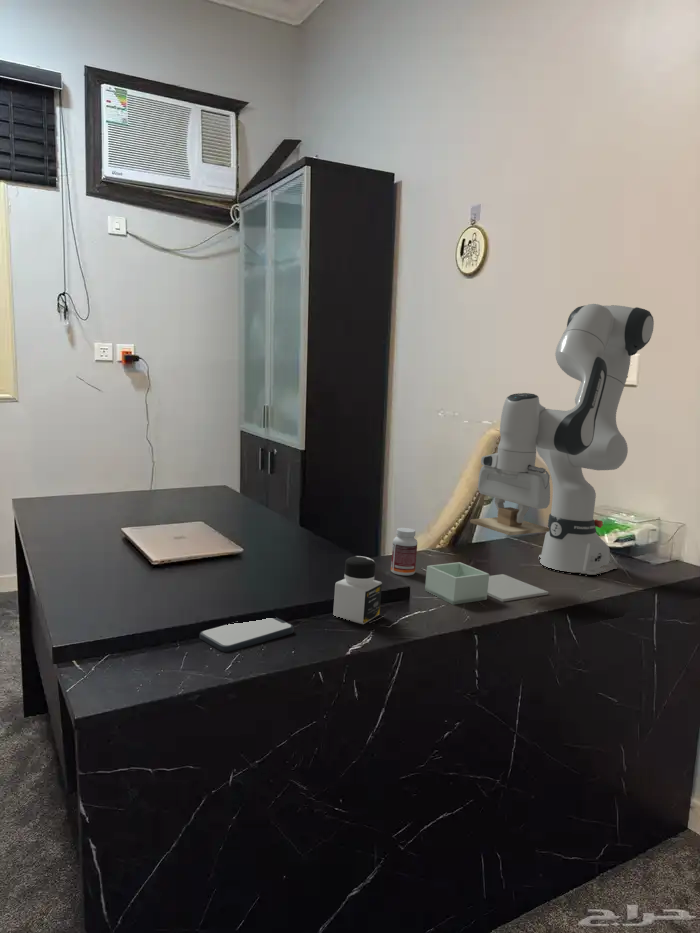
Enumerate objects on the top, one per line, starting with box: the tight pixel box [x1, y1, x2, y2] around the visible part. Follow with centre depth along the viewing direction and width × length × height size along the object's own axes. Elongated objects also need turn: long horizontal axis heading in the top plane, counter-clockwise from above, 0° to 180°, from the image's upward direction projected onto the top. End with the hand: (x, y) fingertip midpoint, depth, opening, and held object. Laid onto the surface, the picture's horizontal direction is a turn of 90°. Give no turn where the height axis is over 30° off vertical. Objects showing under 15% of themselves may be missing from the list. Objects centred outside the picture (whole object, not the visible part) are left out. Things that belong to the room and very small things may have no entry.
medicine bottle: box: [332, 555, 383, 625], centre depth 137 cm, size 7×7×12 cm
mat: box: [487, 573, 549, 603], centre depth 163 cm, size 15×15×1 cm
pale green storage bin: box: [424, 561, 490, 606], centre depth 155 cm, size 10×10×6 cm
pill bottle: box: [390, 527, 418, 576], centre depth 170 cm, size 6×6×11 cm
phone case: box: [199, 616, 295, 653], centre depth 124 cm, size 9×2×16 cm
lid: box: [469, 506, 549, 536], centre depth 161 cm, size 13×13×4 cm
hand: (509, 519), depth 161 cm, fingers closed on lid, 4 cm apart
